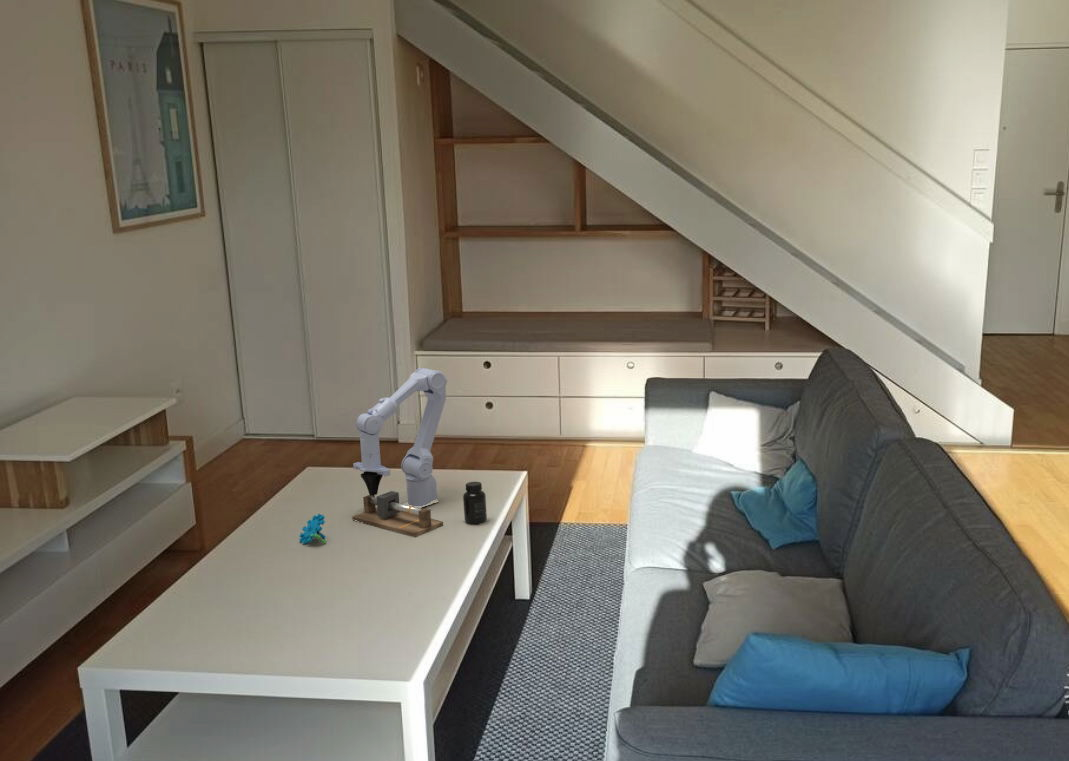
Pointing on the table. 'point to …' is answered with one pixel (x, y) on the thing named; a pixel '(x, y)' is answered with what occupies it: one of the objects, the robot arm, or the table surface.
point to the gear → (313, 530)
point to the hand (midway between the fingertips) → (373, 494)
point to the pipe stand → (398, 518)
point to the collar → (383, 504)
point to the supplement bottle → (474, 504)
